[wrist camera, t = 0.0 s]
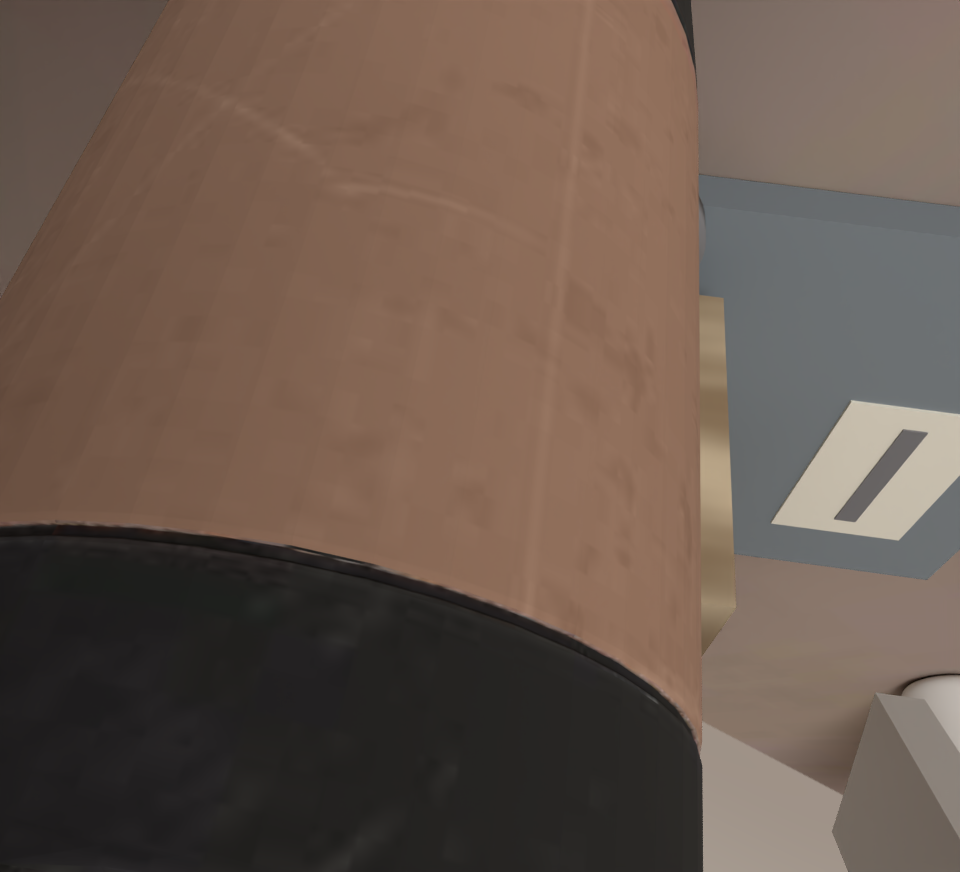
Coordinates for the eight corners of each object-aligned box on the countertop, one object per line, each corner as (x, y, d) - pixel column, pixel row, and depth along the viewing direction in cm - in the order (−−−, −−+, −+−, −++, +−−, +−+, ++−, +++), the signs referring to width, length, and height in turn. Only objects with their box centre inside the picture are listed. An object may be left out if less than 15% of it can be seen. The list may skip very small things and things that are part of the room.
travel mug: (455, 89, 23) (236, 1035, 11) (232, -209, 18) (-538, 927, 7) (751, -72, 19) (867, 1137, 7) (567, -514, 14) (85, 1062, 3)
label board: (405, 99, 23) (391, 148, 22) (1274, 206, 22) (1305, 262, 21) (412, 485, 39) (404, 526, 38) (922, 554, 38) (929, 597, 37)
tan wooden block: (509, 197, 22) (457, 530, 17) (751, 228, 22) (775, 573, 17) (472, 555, 38) (440, 783, 33) (612, 574, 38) (602, 806, 33)
